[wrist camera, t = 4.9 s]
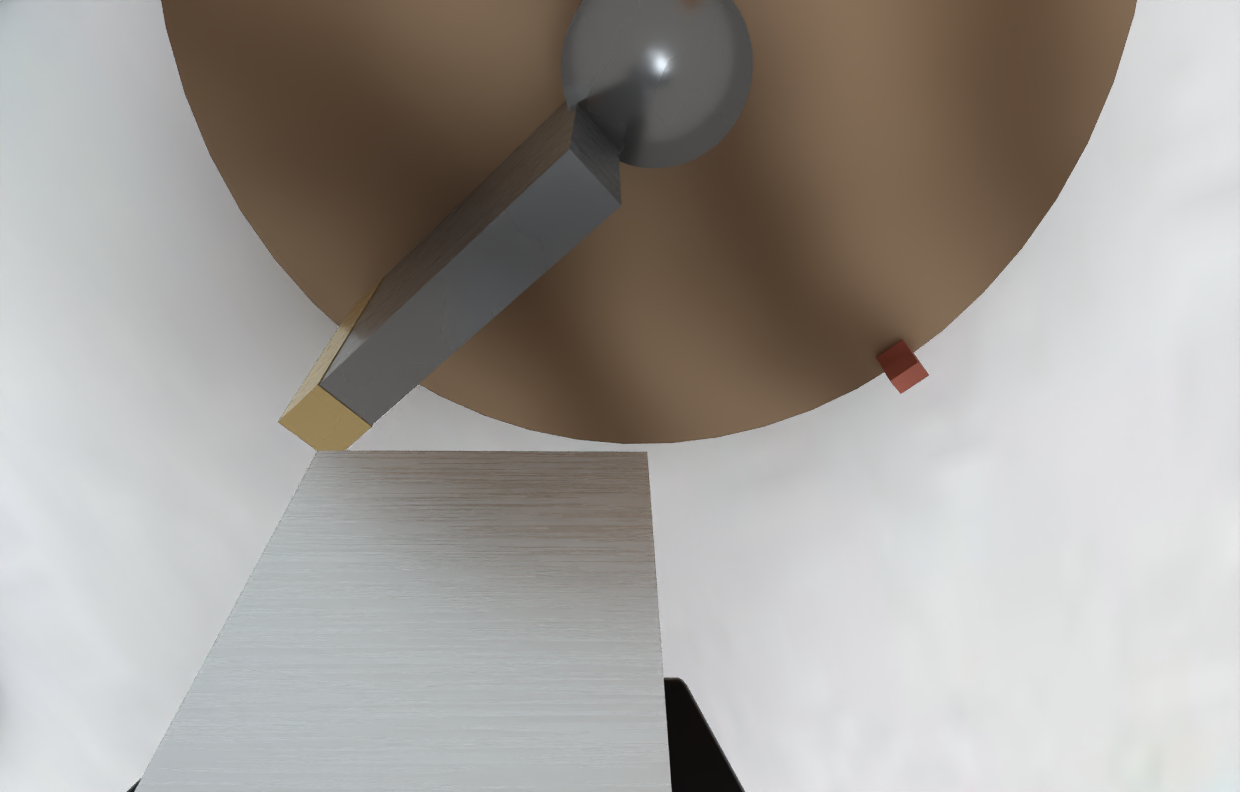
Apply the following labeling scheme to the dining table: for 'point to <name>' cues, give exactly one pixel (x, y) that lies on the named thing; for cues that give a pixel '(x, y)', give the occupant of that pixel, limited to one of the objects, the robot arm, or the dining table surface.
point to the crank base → (664, 189)
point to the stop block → (439, 635)
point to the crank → (536, 200)
